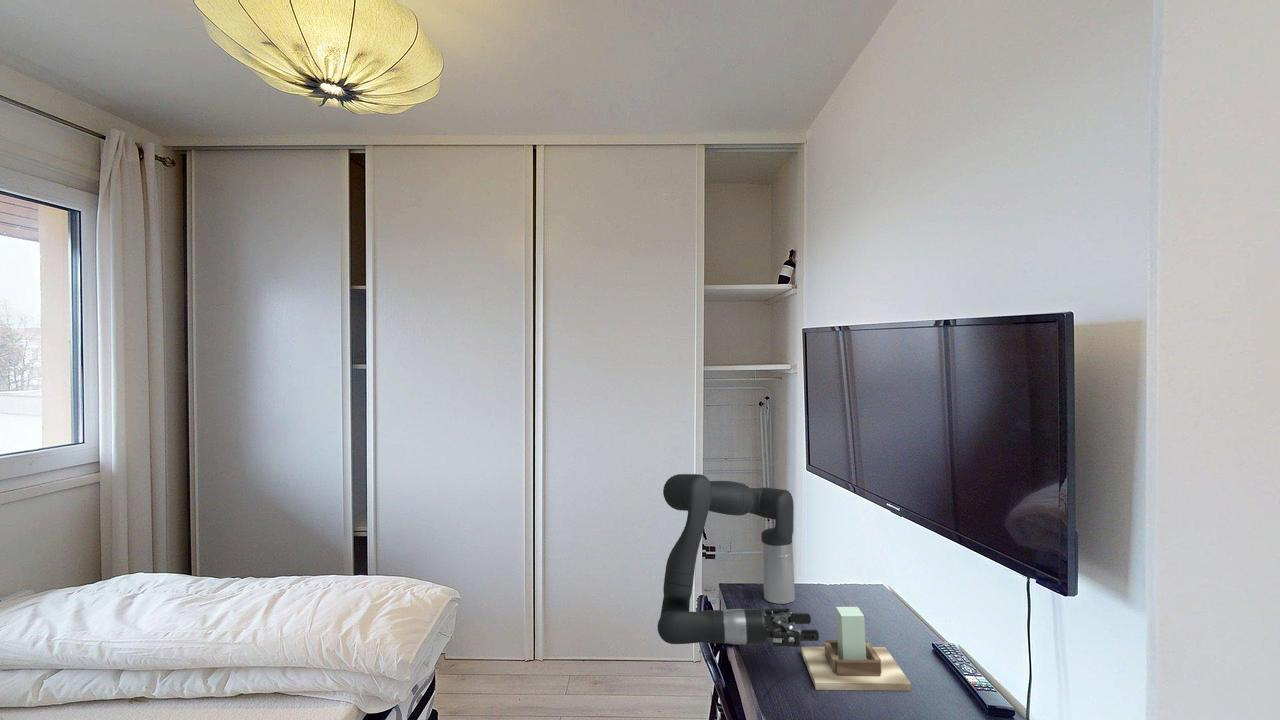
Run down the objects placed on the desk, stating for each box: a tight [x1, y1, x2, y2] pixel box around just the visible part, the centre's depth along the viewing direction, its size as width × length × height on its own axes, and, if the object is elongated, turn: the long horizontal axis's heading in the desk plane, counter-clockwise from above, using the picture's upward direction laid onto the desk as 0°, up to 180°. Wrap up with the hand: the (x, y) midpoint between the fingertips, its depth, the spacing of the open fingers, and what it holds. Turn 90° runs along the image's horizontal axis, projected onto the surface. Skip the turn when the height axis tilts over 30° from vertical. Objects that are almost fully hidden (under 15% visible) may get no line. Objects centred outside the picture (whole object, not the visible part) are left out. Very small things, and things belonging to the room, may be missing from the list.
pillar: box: [835, 606, 867, 660], centre depth 129 cm, size 5×5×12 cm
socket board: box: [800, 639, 912, 692], centre depth 129 cm, size 16×20×4 cm
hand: (814, 626), depth 130 cm, fingers open, 8 cm apart
